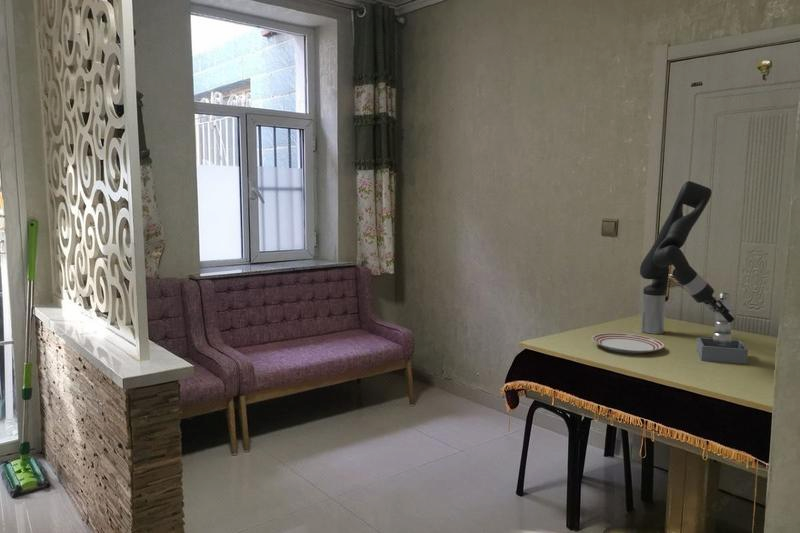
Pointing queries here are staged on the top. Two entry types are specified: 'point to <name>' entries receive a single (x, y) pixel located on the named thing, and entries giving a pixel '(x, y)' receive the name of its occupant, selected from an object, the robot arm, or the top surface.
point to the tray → (722, 351)
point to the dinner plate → (627, 343)
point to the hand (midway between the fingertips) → (727, 318)
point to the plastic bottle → (723, 323)
